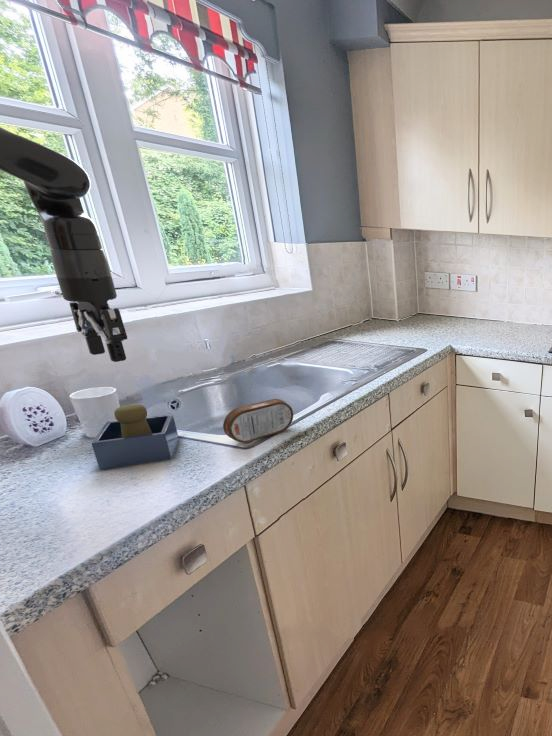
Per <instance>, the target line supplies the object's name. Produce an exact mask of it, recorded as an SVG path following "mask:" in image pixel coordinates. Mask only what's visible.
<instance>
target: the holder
mask: <svg viewBox="0 0 552 736" xmlns="http://www.w3.org/2000/svg"><path fill="white" fill-rule="evenodd" d="M145 419H146V421H147V423H148V425H149V427H150V429H151V432H152V434H147V435H140V436H132V437H125V438H122V432H121V423H120V422H118V421H112V422H106V424H105V425H104V426H103V428H102V429H101V431H100V432H99V433H98V435H97V436H96V438H94V439H93V440H92V442H91V443H90V444H91V447H92V451H93V455H94V457H95V460H96V463H97V466H98V470H99V471H103V470H108V469H109V470H110V469H117V468H121V467H128V466H134V465H140V464H147V463H153V462H159V461H166V460H172V458H173V455H174V452H175V449H176V447H177V443H178V440H179V434H178V429H177V425H176V421H175V418H174V414H172V413H171V414H170V413H169V414H162V415H154V416H146V418H145Z"/></svg>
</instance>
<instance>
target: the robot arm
mask: <svg viewBox="0 0 552 736" xmlns="http://www.w3.org/2000/svg"><path fill="white" fill-rule="evenodd" d="M0 172H3V173H6V174H8V175H10V176H13V177H14V178H17V179H19V180H21V181H23V184H24V188H25V189H26V192H27V195H28V196H29V197H30V200H31V202H32V204H33V206H34V208H35V211H36V212H37V214H38V216H39V218H40V220H41V222H42V226H43V231H44V234H45V237H46V241H47V245H48V247H49V251H50V256H51V257H50V258H51V262H52V266H53V269H54V272H55V275H56V280H57V282H58V285H59V288H60V292H61V295H62V298H63V299H64V300H65V301H67V302H69V307H70V311H71V314H72V318H73V321H74V325H75V329H76V331H77V332H78V333H81V335H82V336H83V337H84V339H85V342H86V345H87V349H88V351H89V354H90V355H93V356H97V355H102V354H105V353H106V350H105V346H104V343H103V340H104V342H105V344H106V348H107V352H108V355H109V359H110V361H111V362H114V363H117V362H123V361H126V360H127V356H126V352H125V348H124V345H123V342H124V341H126V340H128V334H127V331H126V328H125V324H124V321H123V319H122V315H121V310H119V308H118V307H116V308H110V305H109V303H108V302H109V301H111V300H115V299H117V297H118V294H117V292H116V286H115V283H114V280H113V276H112V272H111V269H110V266H109V262H108V259H107V257H106V255H105V252H104V249H103V246H102V242H101V238H100V234H99V232H98V228H97V226H96V224H95V222H94V220H93V219H92V218H90V217H89V216H88V215H87V214H86V210H85V208H84V206H83V202H82V199H81V198H84V196H86V195H87V194H88V193H89V192H90V189H91V185H92V184H91V179H90V177H89V174H88V173H87V172H86V170H85V169H84V168H83V167H82V166H81V165H80V164H79V163H77V162H76V161H75V160H73V159H71V158H70V157H68V156H66V155H64V154H62V153H61V152H58V151H56V150H55V149H52V148H50V147H48V146H45V145H44V144H43V145H42V144H41V143H37V142H36V141H33V140H31V139H28V138H26V137H24V136H22V135H20V134H19V135H18V134H17V133H16V134H15V133H13V132H12V131H10V130H7V129H5V128H3V127H2V126H0ZM102 338H103V339H102Z"/></svg>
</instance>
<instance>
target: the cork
mask: <svg viewBox="0 0 552 736" xmlns="http://www.w3.org/2000/svg"><path fill="white" fill-rule="evenodd" d="M114 415H115V418H116V420H117V421H118V422H120V423H121V432H122V438H125V437H132V436H140V435H147V434H152V432H151V429H150V427H149V425H148V423H147V421H146V419H145V418H146V417H148V410H147V408H146V407H145V405H143V404H140V403H129V404H123V405H120V407H118V408H117V409H116V410H115V413H114Z"/></svg>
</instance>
